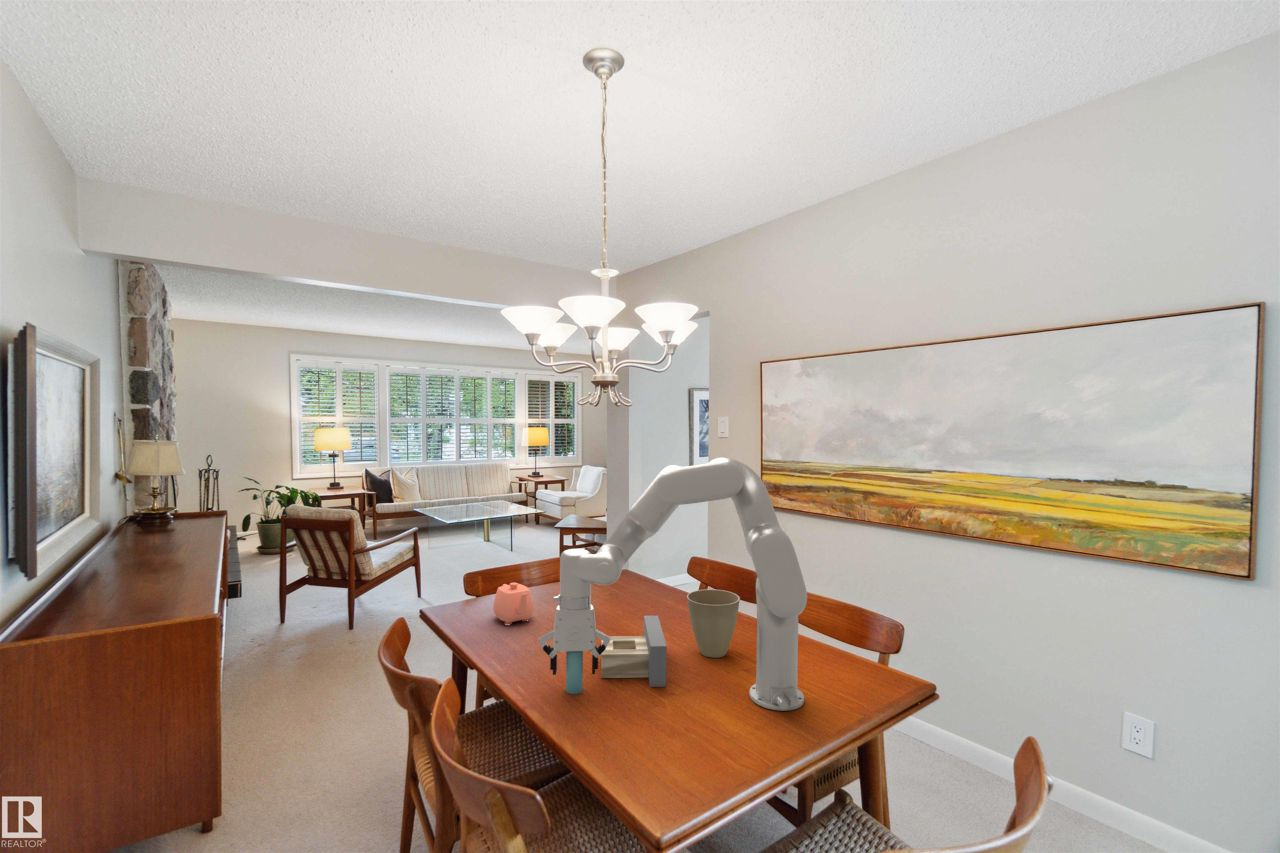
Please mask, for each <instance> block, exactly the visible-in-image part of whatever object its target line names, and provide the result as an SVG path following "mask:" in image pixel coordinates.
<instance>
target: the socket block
mask: <svg viewBox="0 0 1280 853" xmlns="http://www.w3.org/2000/svg"><path fill="white" fill-rule="evenodd" d="M608 636H609V635H608ZM609 637H610V642H609V644H608V645H607V647H606V649H605V650H604V651H603V652H602V653H601V654H600V655H601V658H600V659H601V660H600V661H601V668H600V669H601V671H600V672H601V673H600V674H601V679H621V678H622V679H626V678H627V679H628V678H648V668H649V653H648V648H647V643H646V638H645V636H644V635H630V636H629V635H627V636H626V635H625V636H624V635H623V636H622V635H620V636H618V635H617V636H615V635H614V636H613V635H611V636H609ZM602 643H603V640H601V644H602Z"/></svg>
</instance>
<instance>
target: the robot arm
mask: <svg viewBox="0 0 1280 853" xmlns="http://www.w3.org/2000/svg"><path fill="white" fill-rule="evenodd" d="M729 498H730V499H731V501H732V502H733V505H734V507H735V510H736V511H735V512H736V513H737V516H738V519H739V522H740V525H741V526H740V527H741V529H742V530H741V531H742V533H743V538H744V541H745V547H746V550H747V553H748V554H749V556H750V557H751V561H752V564H753V566H754V570H755V573H756V576H757V577H756V579H755V580H756V582H755V596H756V598H755V600H756V656H755V658H756V660H755V661H756V662H755V663H756V665H755V666H756V669H755V670H756V671H755V674H756V676H755V684H753V685H751V686H750V688H749V691H748V693H749V697H750V699H751V701H752V702H753V703H755V704H756V705H758V706H760V707H763V708H765V709H768V710H773V711H781V712H784V711H785V712H787V711H794V710H797V709H800V708H801V707H802V706H803V705H804V703H805V695H804V693H803V692H802V691H801V690H800V689H798V667H799V666H798V660H799V659H798V657H799V656H798V655H799V654H798V653H799V652H798V650H799V648H798V647H799V646H798V645H799V616H800V615H801V614H802V613H803V611H804V610H805V608H806V606H807V603H808V591H807V588H806V584H805V580H804V577H803V573H802V569H801V566H800V563H799V560H798V556H797V553H796V550H795V547H794V545H793V542H792V540H791V539H790V537H789V535H788V534H787V533H786V532H785V531H784V530H783V529H782V527H781V525H780V523H779V520H778V517H777V514H776V510H775V508H774V506H773V503H772V499H771V496H770V494H769V491H768V489H767V487H766V484H765V483H764V481H763V480H762V479H761V477H760V476H759V474H758V473H757V472H756V471H754V470H753V469H752V468H751V466H748V465H747V464H745V463H744V462H742V461H739V460H737V459H732V458H728V457H717V458H716V457H715V458H714V459H711V460H710V461H709V462H708V463H701V464H697V465H696V464H694V465H690V466H680V465H676V464H672V465H671V464H670V465H668V466H665V467H664V468H663V469H662V470H660V471H659V473H658V474H657V476H656V477H655V478H654V479H653V480H652V482H650V484H649V485H648V487H647V488H646V489H645V490H644V491H643V493H642V494H641V495H640V497H639V498H638V499H637V501H635V502H634V504H633V505H632V506H631V507H630V509H629V510H628V511H627V513H626V514H625V516H624V518H623V519H622V521H620V523H619V525H618V526H617V527H616V528H615V529H614V531H613V532H612V533H611V534H610V536H609V537H608V538H607V539H606V540H605V542H604V543H603V544H602V545H601V546H600V548H599V549H598V551H597V552H596V553H594V554H591V552H590V551H588V550H587V549H583V548H569V549H566V550H564V551H562V552H561V553H560V558H559V561H560V562H559V594H558V595H557V596H553V603H557V604H558V605H557V606H556V609H555V614H554V619H553V630H550V631H549V632H547V633H545V634H543V635H542V636H540V637H539V639H538V643H539V645H540V646H541V648H542V650H543V652H544V653H545V654H546V655H548V657H549V659H550V662H549V663H550V664H549V668H550V669H549V670H550V671H552V676H555V675H556V674H557V669H558V667H557V666H558V652H562V653H563V652H564V653H565V652H583V653H584V652H591V654H592V655H591V656H592V657H591V662H592V663H591V664H592V665H591V667H592V668H591V674H592V675H596V670H598V669H599V657H600V655H601V653H602V652H603V651H604V650H605V649H606V647H607V645H608V644H609V642H610V637H609V635H608V634H605V633H604V632H602V631H600V630H599V629H597V626H596V624H597V623H596V615H595V608H594V605H592V602H591V601H592V584H596V585H600V586H609V585H613V584H614V583H616V582H617V581H618V580H619V578H620V577H621V574H622V571H623V568H624V566H625V565H626V564H627V562H628V561H629V560H630V559H631V558H632V556H633V555H634V554H635V552H636V551H637V550H638V549H639V548H640V546H642V544H644V542H645V541H646V540H648V539H650V538H652V537H653V536H655V535H656V534H657V533H658V532H659V531H660V530H661V528H662V527H663V526H664V525H665V523H666V522H667V521H668V519H669V518H670V517H671V516H672V514H674V512H675V511H676V510H677V508H678V507H679V506H681V505H682V506H683V505H691V504H693V505H694V504H698V503H705V502H713V501H720V500H726V499H729ZM552 638H553V639H552ZM597 638H598V639H599V640H601V641H602V640H603V643H602V642H601V644H600V645H599V646H597V645H596V643H597V642H596V641H597ZM550 639H552V647H551V646H550V645H549V644H548V643H547V641H549V640H550Z"/></svg>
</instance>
